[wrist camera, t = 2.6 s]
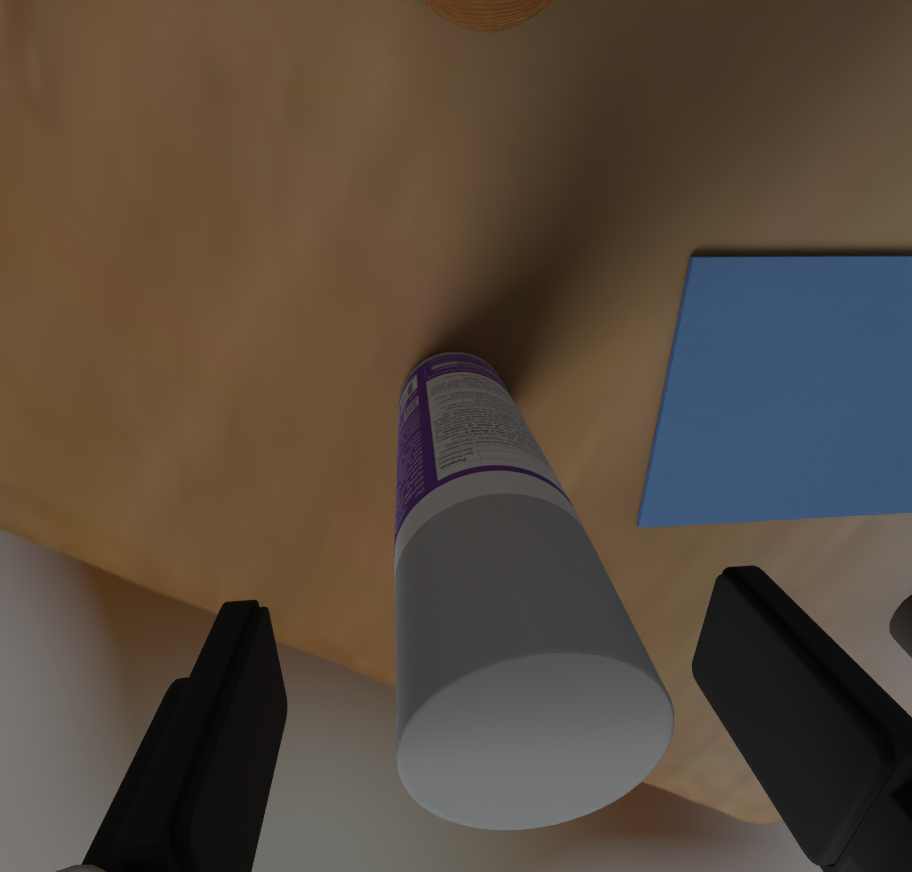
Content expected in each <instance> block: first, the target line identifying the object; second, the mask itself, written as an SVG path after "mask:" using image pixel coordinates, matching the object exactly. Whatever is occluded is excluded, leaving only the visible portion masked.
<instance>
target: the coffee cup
mask: <svg viewBox="0 0 912 872" xmlns="http://www.w3.org/2000/svg"><path fill="white" fill-rule="evenodd" d="M890 633H891V635H892V636H893V638H894V639H895V640H896V642H897V643H898V644H899V645H900V646H901V647H902V648H903V649H904V650H905V651H906V652H907V653H908V654H909V656H910V657H911V658H912V596H911V597H910V598H909V599H907V600H906V601H905V602H904V603H903V604H902V605H901V606H900V607H899V609H898V610H897V611H896V612H895V614H894V616H893V618H892V621H891V623H890Z"/></svg>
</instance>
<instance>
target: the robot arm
mask: <svg viewBox="0 0 912 872" xmlns="http://www.w3.org/2000/svg"><path fill="white" fill-rule="evenodd" d="M692 672H693V675H694V678H695V680H696V682H697V684H698V686H699V687H700V689H701V690H702V692H703V693H704V695H705V697H706V698H707V700H708V701H709V703H710V705H711V706H712V708H713V709H714V711H715V712H716V714H717V716H718V717H719V719H720V720H721V722H722V724H723V725H724V727H725V728H726V730H727V731H728V733H729V735H730V736H731V738H732V739H733V741H734V743H735V744H736V746H737V747H738V749H739V751H740V752H741V754H742V755H743V757H744V758H745V760H746V762H747V763H748V765H749V766H750V768H751V770H752V771H753V773H754V774H755V776H756V777H757V779H758V781H759V782H760V784H761V785H762V787H763V789H764V790H765V792H766V793H767V795H768V797H769V798H770V800H771V801H772V803H773V804H774V806H775V808H776V809H777V811H778V812H779V814H780V816H781V817H782V819H783V820H784V822H785V823H786V825H787V826H788V828H789V830H790V831H791V833H792V835H793V836H794V837H795V839H796V841H797V842H798V844H799V846H800V847H801V849H802V850H803V852H804V853H805V855H806V856H807V857H808V859H810V861H811V862H812V863H814V864H816V865H819V866H820V867H821V869H822V870H823V872H912V717H911V716H910V715H909V714H908V713H907V712H906V711H905V710H904V709H903V708H902V707H901V706H900V705H899V704H898V703H897V702H895V701H894V700H893V699H892V698H891V697H890V696H889V695H888V694H887V693H886V692H885V691H884V690H883V689H882V688H881V687H880V686H879V685H878V684H877V683H876V682H875V681H874V680H873V679H872V678H871V677H870V676H869V675H868V674H867V673H866V672H865V671H864V670H863V669H862V668H861V667H860V666H859V665H858V664H857V663H856V662H855V661H854V660H853V659H852V658H851V657H850V656H849V655H848V654H847V653H846V652H845V651H844V650H843V649H842V648H841V647H840V646H839V645H838V644H837V643H836V642H835V641H834V640H833V639H832V638H831V637H830V636H829V635H828V634H827V633H826V632H824V631H823V630H822V629H821V628H820V627H819V626H818V625H817V624H816V623H815V622H814V621H813V620H812V619H811V618H810V617H809V616H808V615H807V614H806V613H805V612H804V611H803V610H802V609H801V608H800V607H799V606H798V605H797V604H796V603H795V602H794V601H793V600H792V599H791V598H790V597H789V596H788V595H787V594H786V593H785V592H784V591H783V590H782V589H781V588H780V587H779V586H778V585H777V584H776V583H775V582H774V581H773V580H772V579H771V578H770V577H769V576H768V575H767V574H766V573H765V572H764V571H763V570H761V569H760V568H759V567H757V566H739V567H728V568H726V569H724V571H723V573H722V575H719V576H718V577H717V579H716V581H715V585H714V588H713V592H712V595H711V599H710V602H709V606H708V609H707V613H706V616H705V620H704V623H703V627H702V630H701V633H700V637H699V640H698V644H697V647H696V651H695V654H694V658H693V661H692ZM286 717H287V696H286V692H285V687H284V682H283V677H282V672H281V667H280V663H279V658H278V653H277V648H276V643H275V638H274V634H273V629H272V624H271V619H270V614H269V610H268V608H267V607H259V603H258V602H257V600H246V601H232V602H225V603H224V604H223V605H222V607H221V609H220V611H219V613H218V615H217V618H216V620H215V622H214V624H213V627H212V629H211V631H210V633H209V635H208V637H207V640H206V642H205V644H204V646H203V648H202V650H201V653H200V655H199V657H198V659H197V661H196V664H195V666H194V668H193V670H192V672H191V674H190V677H188V678H180V679H176V680H175V681H174V682H173V683H172V684H171V685H170V687H169V689H168V690H167V692H166V694H165V696H164V698H163V700H162V702H161V704H160V706H159V708H158V710H157V712H156V714H155V716H154V718H153V720H152V722H151V724H150V726H149V728H148V730H147V732H146V734H145V736H144V738H143V741H142V742H141V744H140V747H139V748H138V750H137V753H136V755H135V757H134V759H133V761H132V763H131V765H130V767H129V769H128V771H127V773H126V775H125V777H124V779H123V781H122V783H121V785H120V787H119V789H118V791H117V794H116V795H115V797H114V799H113V802H112V803H111V805H110V807H109V810H108V812H107V814H106V816H105V818H104V820H103V822H102V824H101V826H100V828H99V830H98V832H97V834H96V836H95V838H94V840H93V842H92V844H91V846H90V848H89V850H88V852H87V854H86V856H85V858H84V860H83V862H82V864H81V865H74V866H71V867H68V868H65V869H62V870H59V871H56V872H251V871H252V866H253V862H254V858H255V853H256V849H257V845H258V840H259V835H260V831H261V827H262V823H263V818H264V814H265V809H266V805H267V801H268V796H269V792H270V788H271V783H272V779H273V774H274V770H275V765H276V761H277V757H278V752H279V748H280V744H281V739H282V734H283V731H284V726H285V722H286Z"/></svg>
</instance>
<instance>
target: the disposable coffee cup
mask: <svg viewBox="0 0 912 872" xmlns="http://www.w3.org/2000/svg"><path fill="white" fill-rule="evenodd" d="M424 1H425V3H426V4H427V5H428V6H429V7H430V8H432V9H433V10H434V11H435V12H437V13H438V14H439V15H440V16H441V17H443V18H445V19H447V20H449V21H451V22H453V23H455V24H457V25H459V26H462V27H465V28H469V29H473V30H477V31H498V30H502V29H506V28H510V27H514V26H517V25H519V24H520V23H522V22H524V21H526V20H528V19H530V18H531V17H533V16H535V15H536V14H537V13H539V12H540V11H541V10H542V9H543V8H545V7H546V6H547V5H549V4H550V3H551V2H553V1H554V0H424Z"/></svg>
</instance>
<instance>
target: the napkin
mask: <svg viewBox="0 0 912 872" xmlns="http://www.w3.org/2000/svg"><path fill="white" fill-rule="evenodd" d="M894 513H912V255H882V256H691V257H690V260H689V265H688V270H687V275H686V280H685V285H684V290H683V295H682V300H681V305H680V310H679V315H678V320H677V325H676V330H675V335H674V340H673V345H672V350H671V355H670V360H669V365H668V370H667V375H666V380H665V385H664V390H663V395H662V400H661V405H660V410H659V416H658V421H657V426H656V431H655V436H654V441H653V446H652V451H651V456H650V461H649V466H648V471H647V476H646V481H645V486H644V491H643V496H642V501H641V506H640V511H639V516H638V521H637V525H638V527H639V528H641V527H659V526H677V525H695V524H713V523H731V522H749V521H767V520H786V519H804V518H822V517H840V516H858V515H876V514H894Z"/></svg>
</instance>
